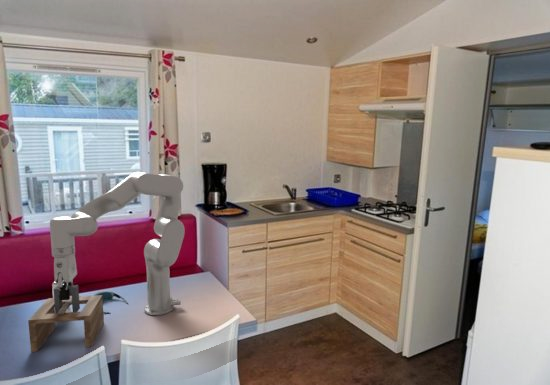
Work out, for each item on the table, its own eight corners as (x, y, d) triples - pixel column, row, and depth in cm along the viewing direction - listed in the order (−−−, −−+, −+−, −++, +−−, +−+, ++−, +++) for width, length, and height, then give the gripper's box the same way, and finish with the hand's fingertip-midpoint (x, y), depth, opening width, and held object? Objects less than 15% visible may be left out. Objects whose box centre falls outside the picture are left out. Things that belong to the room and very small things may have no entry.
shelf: (103, 322, 156) (101, 290, 154) (91, 346, 139) (89, 310, 136) (50, 326, 152) (47, 293, 150) (31, 351, 135) (27, 314, 133)
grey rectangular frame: (79, 308, 146) (78, 284, 145) (77, 311, 143) (75, 288, 142) (58, 309, 145) (56, 286, 143) (55, 313, 142) (53, 289, 140)
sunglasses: (108, 297, 181) (108, 287, 180) (131, 307, 175) (132, 297, 174) (82, 309, 168) (82, 298, 167) (106, 320, 163) (107, 309, 162)
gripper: (66, 257, 133) (70, 306, 136) (81, 243, 149) (84, 288, 152) (43, 257, 132) (47, 308, 134) (60, 244, 147) (63, 289, 150)
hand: (66, 297), depth 143 cm, fingers closed on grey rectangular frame, 3 cm apart
